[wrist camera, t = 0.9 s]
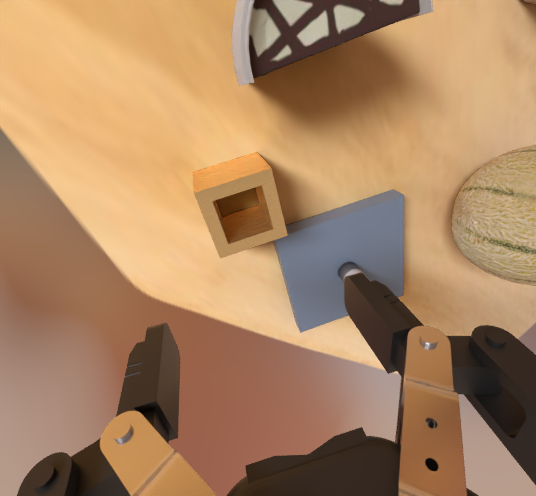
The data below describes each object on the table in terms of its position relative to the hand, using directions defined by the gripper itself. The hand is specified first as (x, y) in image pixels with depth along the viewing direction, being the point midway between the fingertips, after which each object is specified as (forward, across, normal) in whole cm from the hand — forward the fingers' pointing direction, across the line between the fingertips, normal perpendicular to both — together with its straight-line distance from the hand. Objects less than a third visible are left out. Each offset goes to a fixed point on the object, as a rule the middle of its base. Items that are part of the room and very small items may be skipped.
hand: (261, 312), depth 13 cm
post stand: (+19, -12, +13) cm, 26 cm away
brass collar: (+19, -1, +1) cm, 19 cm away
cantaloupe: (+19, -31, +8) cm, 37 cm away
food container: (+19, -8, -12) cm, 24 cm away
